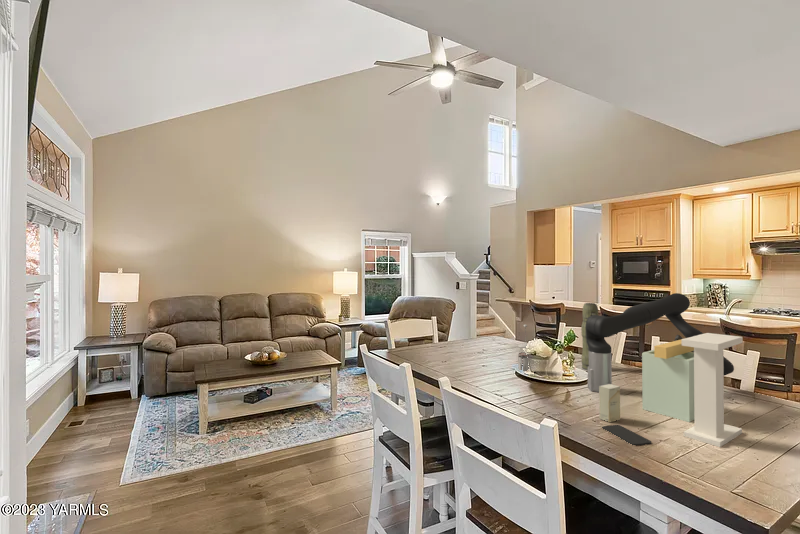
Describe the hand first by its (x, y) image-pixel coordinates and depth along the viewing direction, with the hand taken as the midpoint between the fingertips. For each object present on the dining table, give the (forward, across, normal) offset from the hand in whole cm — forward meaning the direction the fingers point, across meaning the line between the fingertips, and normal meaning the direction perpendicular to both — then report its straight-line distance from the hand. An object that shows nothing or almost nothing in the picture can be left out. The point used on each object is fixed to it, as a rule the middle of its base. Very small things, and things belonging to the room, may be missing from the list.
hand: (689, 338), depth 164 cm
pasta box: (+6, 0, +9) cm, 11 cm away
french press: (-1, -70, +30) cm, 76 cm away
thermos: (-31, -54, +13) cm, 64 cm away
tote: (-2, 0, +29) cm, 29 cm away
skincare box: (+22, -10, +43) cm, 49 cm away
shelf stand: (+9, +17, +36) cm, 41 cm away
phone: (+29, +1, +48) cm, 56 cm away
